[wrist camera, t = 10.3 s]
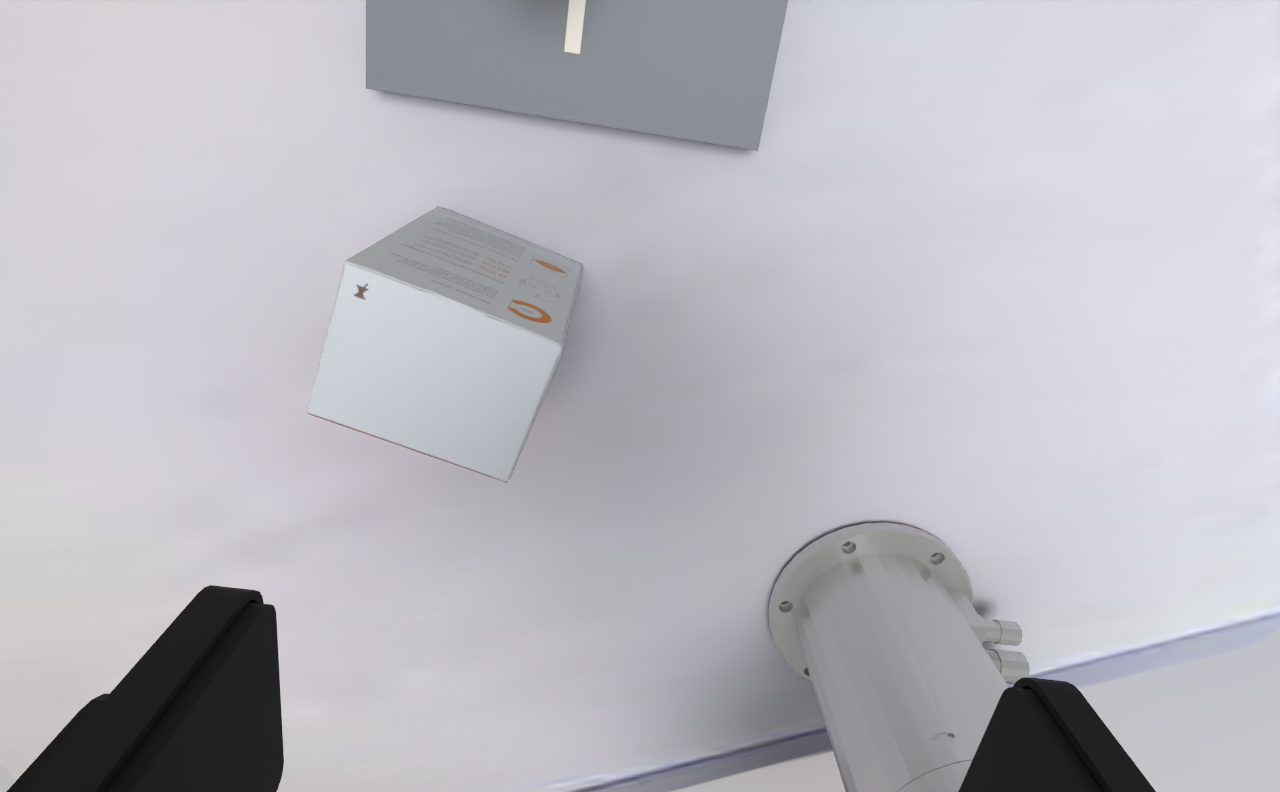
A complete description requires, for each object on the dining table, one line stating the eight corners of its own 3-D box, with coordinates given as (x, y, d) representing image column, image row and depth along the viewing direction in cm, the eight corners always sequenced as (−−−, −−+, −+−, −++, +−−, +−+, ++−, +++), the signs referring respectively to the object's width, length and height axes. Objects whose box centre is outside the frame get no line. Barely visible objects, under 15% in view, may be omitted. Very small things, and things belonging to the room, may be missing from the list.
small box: (403, 315, 38) (298, 414, 26) (437, 203, 36) (340, 254, 24) (545, 369, 40) (509, 487, 28) (587, 264, 37) (566, 342, 25)
